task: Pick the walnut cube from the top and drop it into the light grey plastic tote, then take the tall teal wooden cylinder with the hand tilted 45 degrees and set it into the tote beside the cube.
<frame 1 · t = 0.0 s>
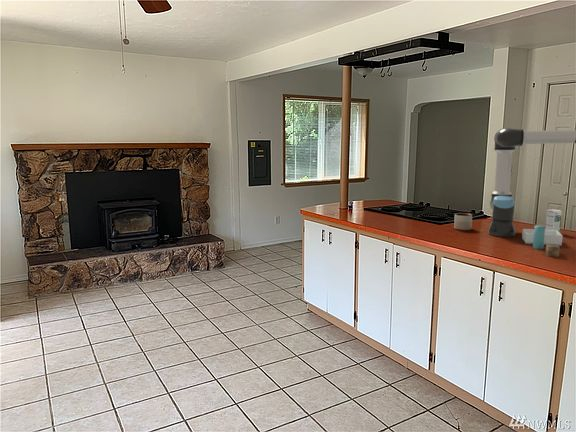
syrup box: (552, 233, 268), on the worktop
grey tote: (541, 241, 246), on the worktop
walnut cube: (552, 255, 220), on the worktop
planter: (462, 229, 286), on the worktop
teal cylinder: (538, 247, 234), on the worktop
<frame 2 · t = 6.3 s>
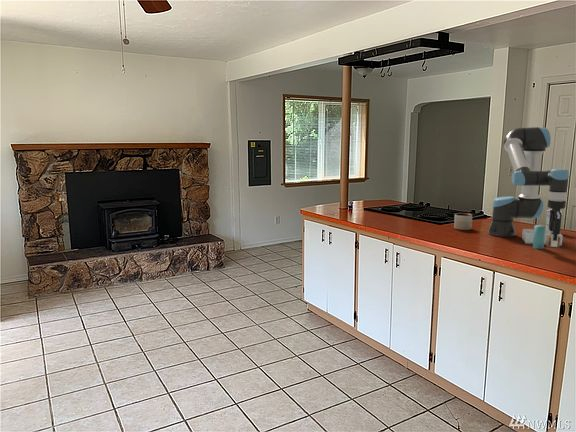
hand: (552, 245, 219), 5 cm above the worktop, tool pointing down, fingers closed on walnut cube, 5 cm apart
walnut cube: (552, 245, 219), point 5 cm above the worktop, touching gripper
everything else where it was.
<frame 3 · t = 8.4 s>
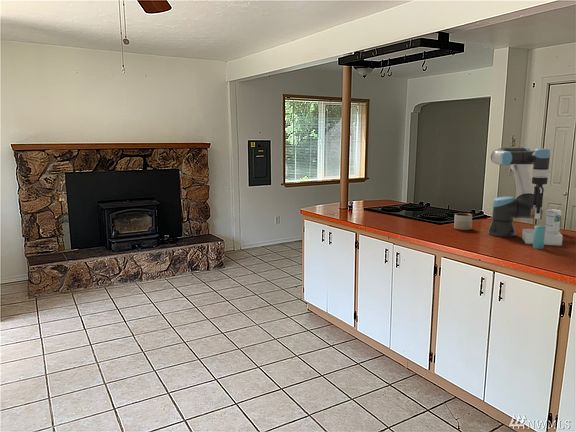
hand: (536, 217, 244), 14 cm above the worktop, tool pointing down, fingers closed on walnut cube, 5 cm apart
walnut cube: (536, 218, 244), point 14 cm above the worktop, touching gripper
everything else where it was.
when the fingers open (5 cm above the worktop, at t = 10.4 s): walnut cube drops 4 cm, resting on grey tote.
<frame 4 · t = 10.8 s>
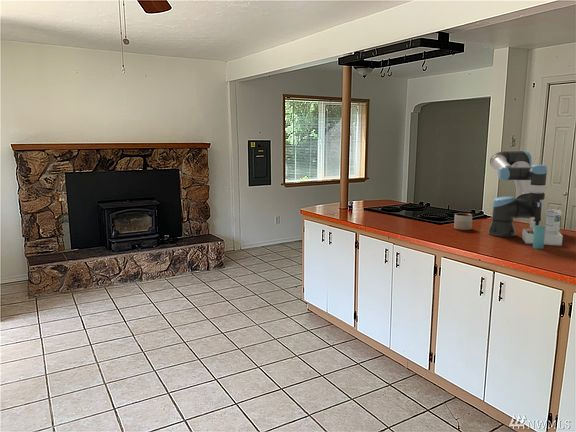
hand: (534, 230, 247), 7 cm above the worktop, tool pointing down, fingers open, 11 cm apart
walnut cube: (533, 240, 248), point 1 cm above the worktop, touching grey tote
everything else where it was.
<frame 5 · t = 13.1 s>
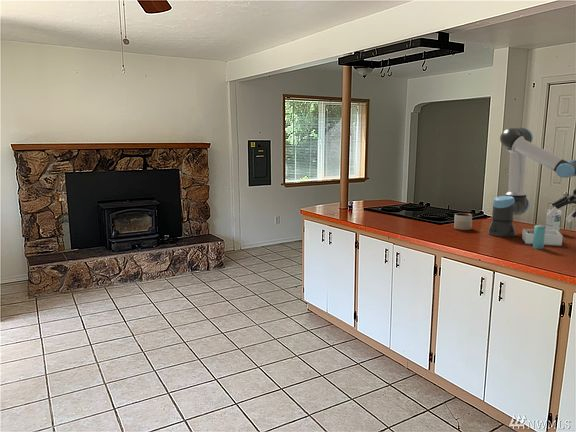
hand: (557, 218, 233), 16 cm above the worktop, tool tilted 45°, fingers open, 13 cm apart
nothing on the worktop moved.
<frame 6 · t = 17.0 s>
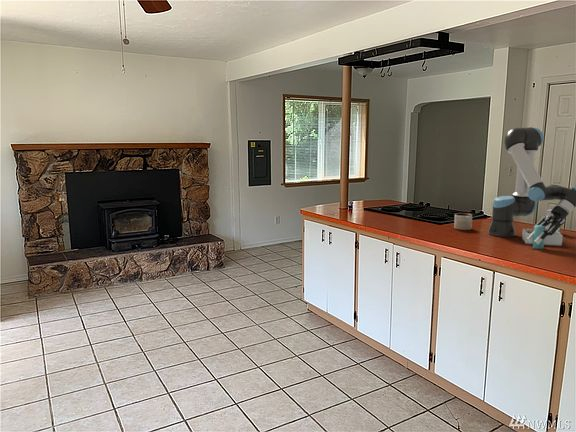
hand: (532, 241, 233), 4 cm above the worktop, tool tilted 45°, fingers closed on teal cylinder, 5 cm apart
teal cylinder: (538, 247, 234), on the worktop, touching gripper
everything else where it was.
when the fingers open (7 cm above the worktop, at t = 21.8 s): teal cylinder drops 2 cm, resting on grey tote.
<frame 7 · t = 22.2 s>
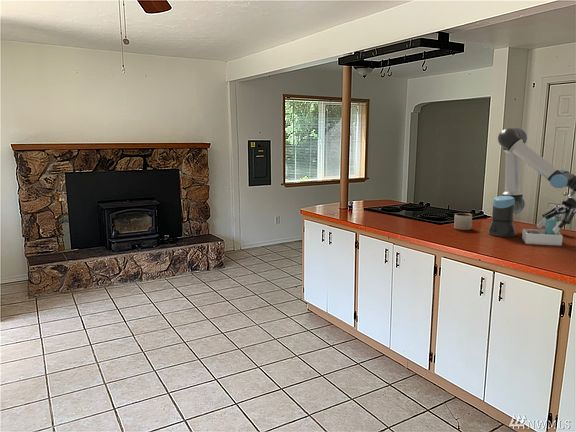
hand: (545, 229, 243), 8 cm above the worktop, tool tilted 45°, fingers open, 11 cm apart
teal cylinder: (549, 240, 245), point 1 cm above the worktop, touching grey tote
everything else where it was.
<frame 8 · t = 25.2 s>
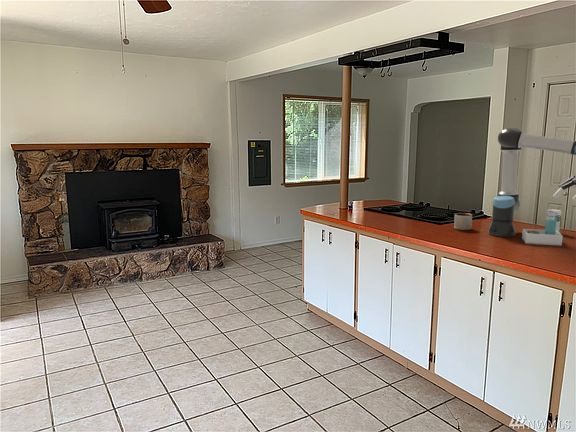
hand: (563, 198, 242), 25 cm above the worktop, tool tilted 45°, fingers open, 13 cm apart
nothing on the worktop moved.
at the end: walnut cube inside the target area on the grey tote (4.1 cm from its centre), point 0.8 cm above the grey tote's base; teal cylinder inside the target area on the grey tote (4.1 cm from its centre), point 0.8 cm above the grey tote's base; the gripper is holding nothing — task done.
